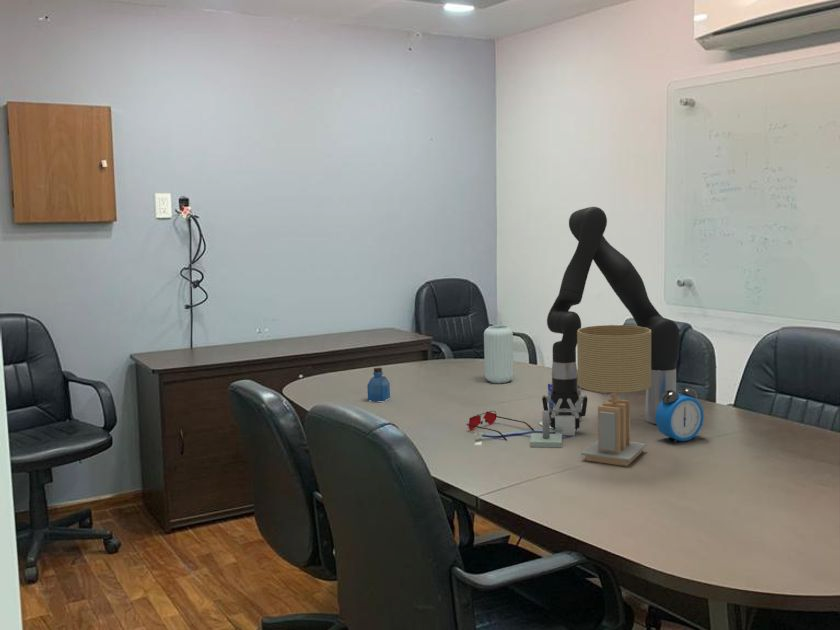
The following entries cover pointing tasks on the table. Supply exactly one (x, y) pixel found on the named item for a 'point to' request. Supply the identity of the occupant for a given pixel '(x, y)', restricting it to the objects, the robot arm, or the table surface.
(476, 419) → the glasses
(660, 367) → the robot arm
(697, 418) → the alarm clock
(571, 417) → the grey hollow cube
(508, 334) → the vase
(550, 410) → the ink cartridge box
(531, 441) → the shaft block
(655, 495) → the table surface
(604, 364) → the desk lamp
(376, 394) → the perfume bottle
